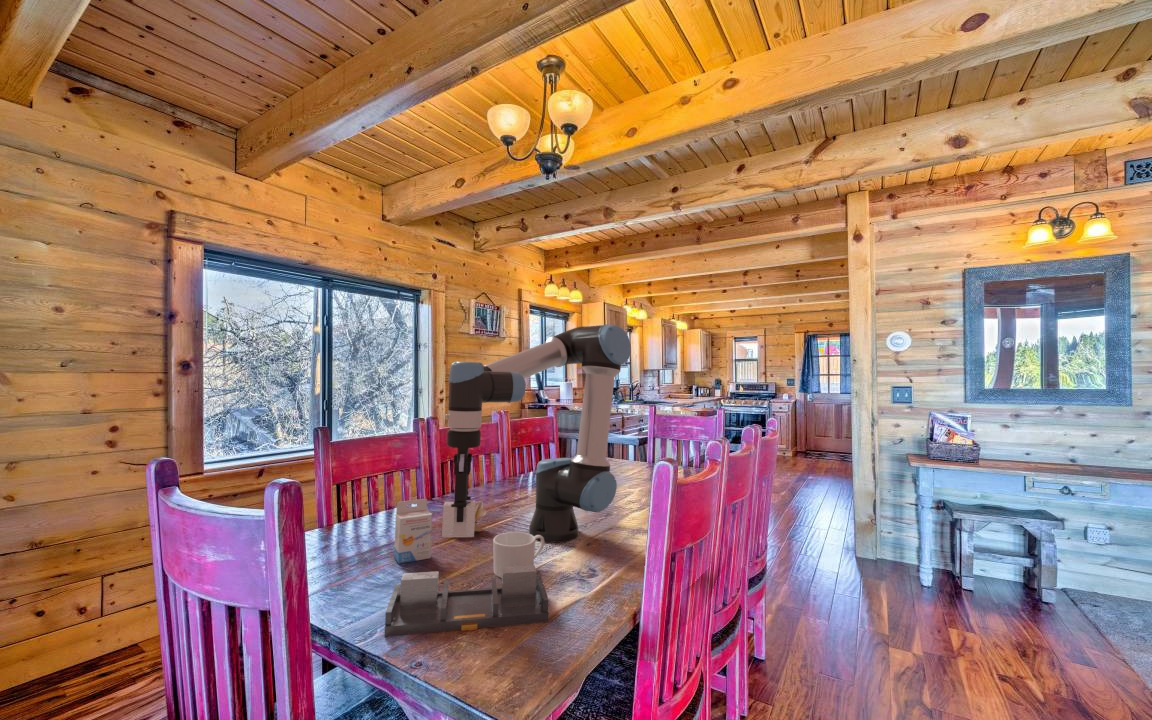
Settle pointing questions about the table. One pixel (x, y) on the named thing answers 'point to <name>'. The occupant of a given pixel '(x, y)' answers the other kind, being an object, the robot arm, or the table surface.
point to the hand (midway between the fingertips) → (460, 532)
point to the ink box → (412, 531)
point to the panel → (449, 520)
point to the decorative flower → (478, 514)
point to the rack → (466, 603)
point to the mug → (514, 550)
